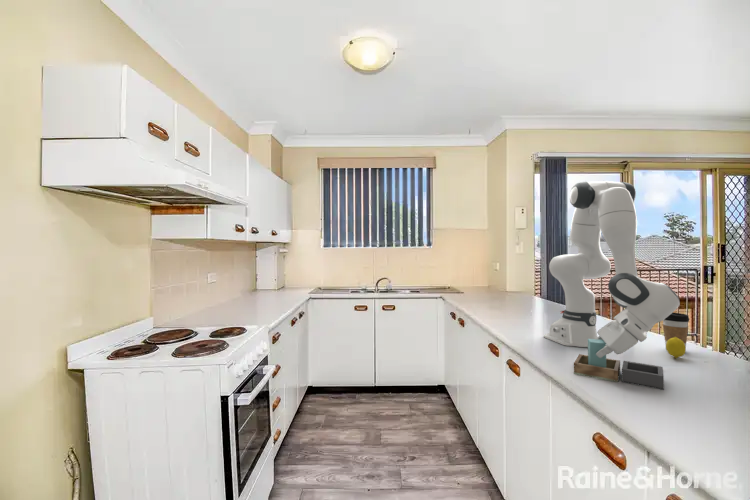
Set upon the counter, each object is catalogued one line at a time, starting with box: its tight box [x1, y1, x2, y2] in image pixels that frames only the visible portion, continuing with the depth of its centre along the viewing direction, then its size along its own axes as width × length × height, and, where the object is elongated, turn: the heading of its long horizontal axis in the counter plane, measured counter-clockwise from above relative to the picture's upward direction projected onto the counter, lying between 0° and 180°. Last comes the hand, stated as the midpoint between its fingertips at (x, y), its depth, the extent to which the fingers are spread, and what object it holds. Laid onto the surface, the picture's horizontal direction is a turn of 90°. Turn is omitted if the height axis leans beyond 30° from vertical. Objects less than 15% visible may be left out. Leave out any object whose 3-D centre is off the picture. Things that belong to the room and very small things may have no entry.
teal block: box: [587, 339, 607, 368], centre depth 115 cm, size 4×4×10 cm
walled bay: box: [573, 353, 621, 383], centre depth 115 cm, size 12×12×4 cm
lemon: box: [665, 337, 687, 359], centre depth 128 cm, size 6×6×8 cm
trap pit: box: [621, 360, 665, 391], centre depth 107 cm, size 10×10×4 cm
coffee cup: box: [662, 312, 690, 347], centre depth 137 cm, size 8×8×15 cm
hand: (594, 351), depth 115 cm, fingers open, 8 cm apart
